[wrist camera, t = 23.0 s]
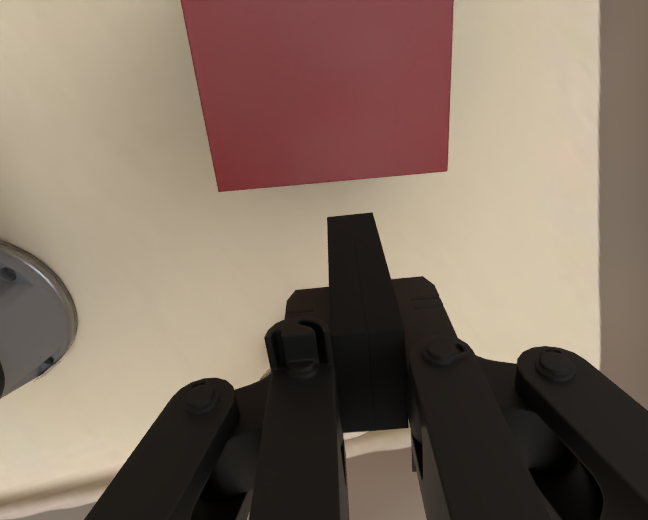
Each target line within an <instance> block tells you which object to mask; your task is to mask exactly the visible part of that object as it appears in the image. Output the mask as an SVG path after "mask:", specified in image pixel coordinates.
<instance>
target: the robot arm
mask: <svg viewBox="0 0 648 520" xmlns="http://www.w3.org/2000/svg"><path fill="white" fill-rule="evenodd" d="M327 226H328V264H329V287H322V288H312V289H302V290H295V292H294V293H293V294H292V295H291V297H290V298H289V299H288V300H287V305H286V314H285V320H282V321H280V322H278V323H276V324H275V325H274V326H272V327H271V328H270V329H269V330H268V331H267V333H266V335H265V337H264V338H265V343H266V348H267V353H268V358H269V362H270V367H271V373H270V374H269V375H268V376H266V377H265V378H263V379H262V380H260V381H258V382H256V383H253V384H251V385H248V386H245V387H242V388H239V389H236V390H234V388H233V386H232V385H231V384H230V383H229V382H227V381H226V380H223V379H219V378H204V379H201V380H198V381H195V382H191V383H190V384H188V385H186V386H185V387H183V388H181V389H180V390H179V391H178V392H177V393H176V394H175V395H174V396H173V397H172V398H171V400H170V401H169V402H168V404H167V405H166V406H165V408H164V409H163V411H162V412H161V413H160V415H159V416H158V418H157V419H156V420H155V422H154V423H153V425H152V426H151V427H150V429H149V430H148V432H147V433H146V434H145V436H144V437H143V439H142V440H141V441H140V443H139V444H138V445H137V447H136V448H135V450H134V451H133V452H132V454H131V455H130V457H129V458H128V459H127V461H126V462H125V464H124V465H123V466H122V468H121V469H120V471H119V472H118V473H117V475H116V476H115V478H114V479H113V480H112V482H111V483H110V484H109V486H108V487H107V489H106V490H105V491H104V493H103V494H102V496H101V497H100V498H99V500H98V501H97V503H96V504H95V505H94V507H93V508H92V510H91V511H90V512H89V514H88V515H87V517H86V518H85V519H84V520H247V517H248V514H249V512H250V517H249V520H349V505H348V488H347V471H346V453H345V445H344V438H343V433H351V432H364V431H376V430H388V429H400V428H408V418H409V423H410V427H411V444H412V469H413V470H412V471H413V472H416V471H417V475H418V480H419V485H420V490H421V494H422V499H423V504H424V508H425V513H426V518H427V520H648V411H647V410H646V409H645V408H644V407H643V406H641V405H640V404H639V403H638V402H636V401H635V400H634V399H633V398H631V397H630V396H629V395H628V394H627V393H625V392H624V391H623V390H622V389H620V388H619V387H618V386H617V385H616V384H614V383H613V382H612V381H611V380H609V379H608V378H607V377H606V376H604V375H603V374H602V373H601V372H600V371H599V370H597V369H596V368H595V367H594V366H592V365H591V364H590V363H589V362H588V361H586V360H585V359H583V358H582V357H580V356H578V355H577V354H575V353H573V352H570V351H567V350H564V349H561V348H556V347H548V346H543V347H534V348H531V349H529V350H526V351H524V352H523V353H522V354H521V355H520V356H519V358H518V359H517V364H513V363H506V362H498V361H492V360H487V359H484V358H481V357H479V356H476V355H475V354H474V351H473V350H472V349H471V348H470V346H469V345H468V344H467V343H465V342H463V341H462V340H460V339H458V338H457V335H456V333H455V331H454V328H453V326H452V324H451V322H450V319H449V317H448V315H447V313H446V310H445V308H444V307H443V303H442V301H441V299H440V298H439V294H438V292H437V290H436V288H435V285H434V284H432V283H431V282H430V281H428V280H427V279H426V278H424V277H423V276H421V277H411V278H401V279H391V278H390V274H389V270H388V267H387V263H386V260H385V256H384V252H383V249H382V245H381V241H380V238H379V234H378V231H377V227H376V223H375V220H374V216H373V213H363V214H354V215H344V216H335V217H327ZM76 329H77V317H76V311H75V307H74V304H73V302H72V299H71V297H70V295H69V293H68V291H67V290H66V288H65V287H64V285H63V284H62V282H61V281H60V280H59V279H58V277H57V276H56V275H55V274H54V273H53V272H52V271H51V270H50V269H49V268H48V267H47V266H45V265H44V264H43V263H42V262H40V261H39V260H38V259H36V258H35V257H33V256H32V255H30V254H29V253H27V252H25V251H23V250H21V249H19V248H17V247H15V246H13V245H10V244H8V243H5V242H2V241H0V399H1V398H2V397H4V396H6V395H7V394H9V393H11V392H12V391H14V390H16V389H17V388H19V387H21V386H23V385H24V384H26V383H28V382H29V381H31V380H33V379H35V378H36V377H38V376H40V375H41V374H42V375H41V376H40V377H39V378H41V377H43V376H44V375H46V374H47V373H48V372H49V371H50V370H51V369H53V368H54V367H55V366H56V365H57V364H58V363H59V362H60V361H59V360H60V359H61V358H62V356H63V355H64V354H65V353H66V351H67V350H68V349H69V347H70V346H71V344H72V342H73V340H74V338H75V334H76ZM58 361H59V362H58ZM61 361H62V360H61ZM57 362H58V363H57ZM39 378H38V379H39ZM38 379H36V380H38ZM36 380H35V381H36ZM250 509H251V510H250Z"/></svg>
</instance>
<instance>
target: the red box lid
mask: <svg viewBox="0 0 648 520" xmlns="http://www.w3.org/2000/svg"><path fill="white" fill-rule="evenodd" d="M453 2H454V0H181V4H182V9H183V14H184V19H185V24H186V29H187V34H188V39H189V44H190V50H191V55H192V60H193V65H194V70H195V75H196V80H197V85H198V90H199V95H200V100H201V105H202V110H203V115H204V120H205V125H206V130H207V136H208V141H209V146H210V151H211V156H212V161H213V166H214V171H215V176H216V181H217V186H218V191H219V192H223V191H234V190H245V189H256V188H267V187H279V186H290V185H301V184H312V183H323V182H334V181H345V180H356V179H367V178H378V177H389V176H400V175H411V174H422V173H433V172H444V171H447V167H448V140H449V112H450V85H451V57H452V30H453Z"/></svg>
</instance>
